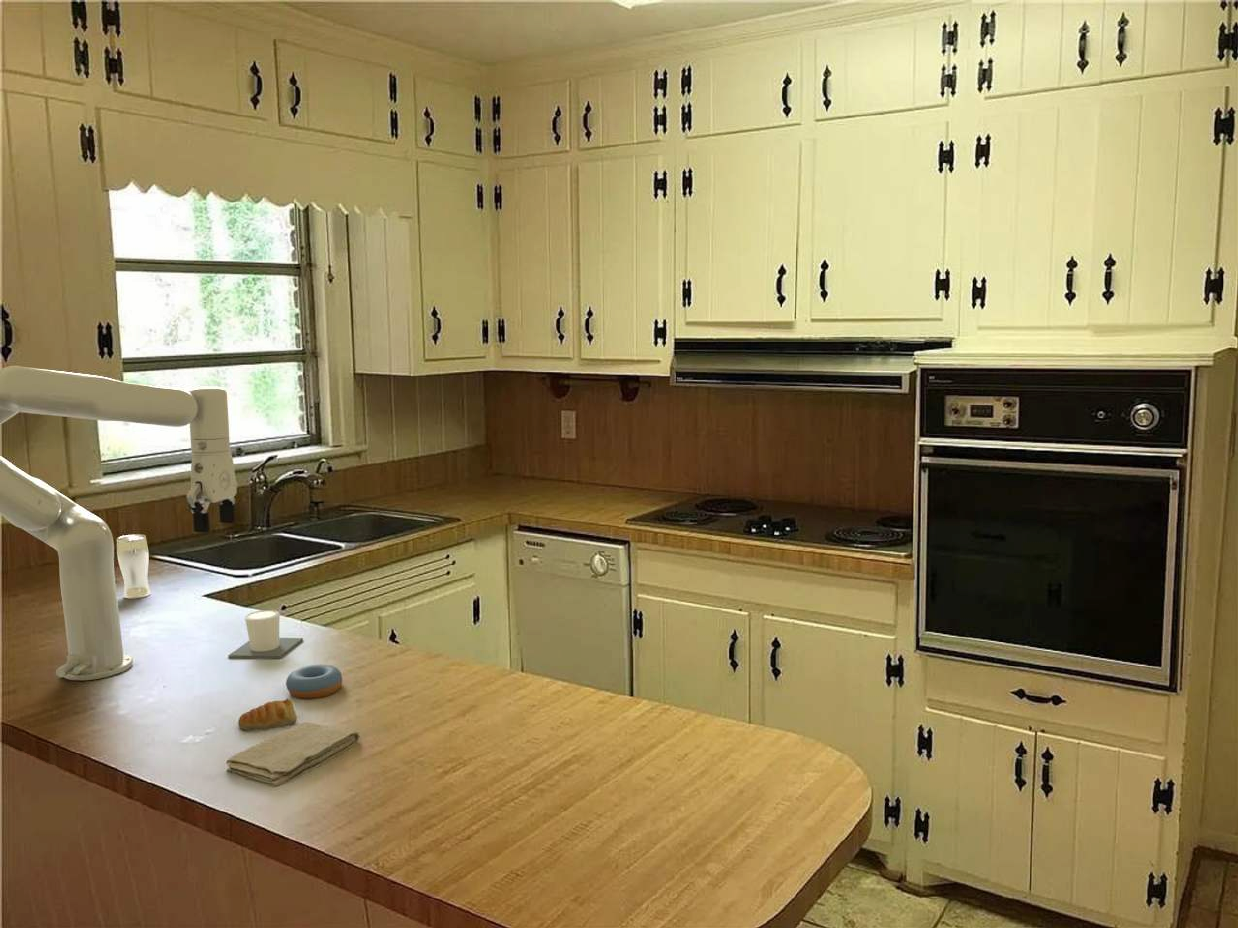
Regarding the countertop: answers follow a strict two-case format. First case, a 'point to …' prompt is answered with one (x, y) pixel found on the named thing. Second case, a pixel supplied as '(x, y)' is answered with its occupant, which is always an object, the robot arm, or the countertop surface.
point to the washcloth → (291, 753)
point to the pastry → (269, 716)
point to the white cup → (263, 630)
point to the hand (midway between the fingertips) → (215, 527)
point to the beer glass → (134, 565)
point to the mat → (277, 653)
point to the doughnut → (314, 681)
